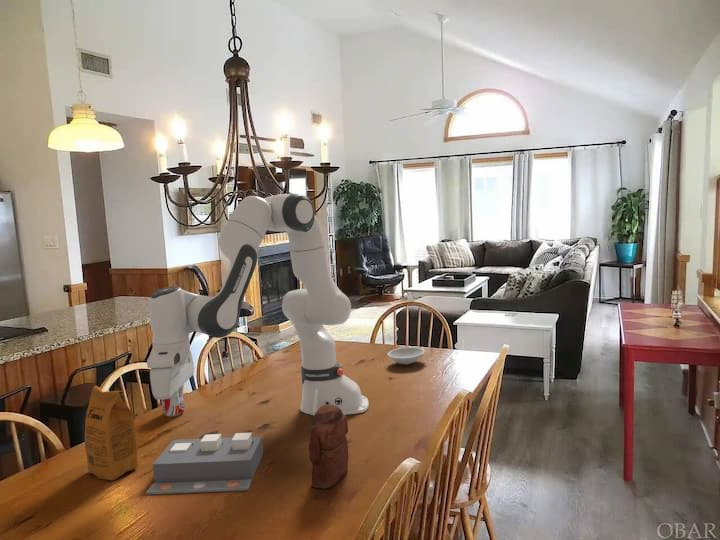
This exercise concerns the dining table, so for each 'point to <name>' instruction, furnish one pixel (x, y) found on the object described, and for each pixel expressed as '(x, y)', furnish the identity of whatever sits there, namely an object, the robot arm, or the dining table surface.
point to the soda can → (172, 407)
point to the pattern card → (199, 486)
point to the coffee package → (109, 435)
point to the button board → (208, 462)
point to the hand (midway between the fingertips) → (177, 403)
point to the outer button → (181, 447)
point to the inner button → (242, 441)
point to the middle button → (211, 442)
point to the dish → (406, 354)
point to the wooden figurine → (328, 446)
